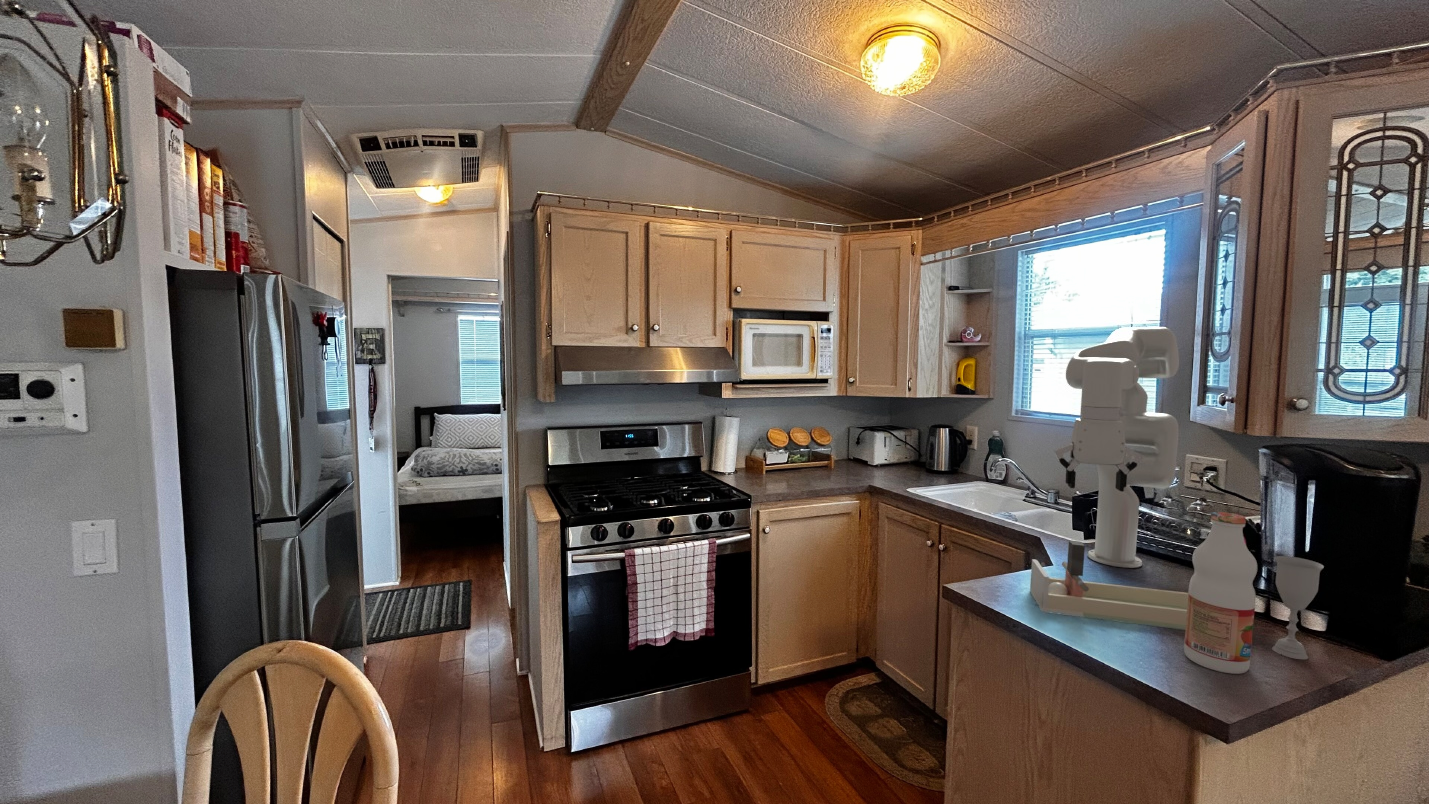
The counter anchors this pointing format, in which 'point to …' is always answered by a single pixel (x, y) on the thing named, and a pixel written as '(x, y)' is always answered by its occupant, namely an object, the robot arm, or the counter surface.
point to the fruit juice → (1221, 598)
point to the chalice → (1295, 597)
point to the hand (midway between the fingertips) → (1095, 488)
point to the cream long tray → (1112, 602)
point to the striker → (1075, 569)
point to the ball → (1058, 588)
